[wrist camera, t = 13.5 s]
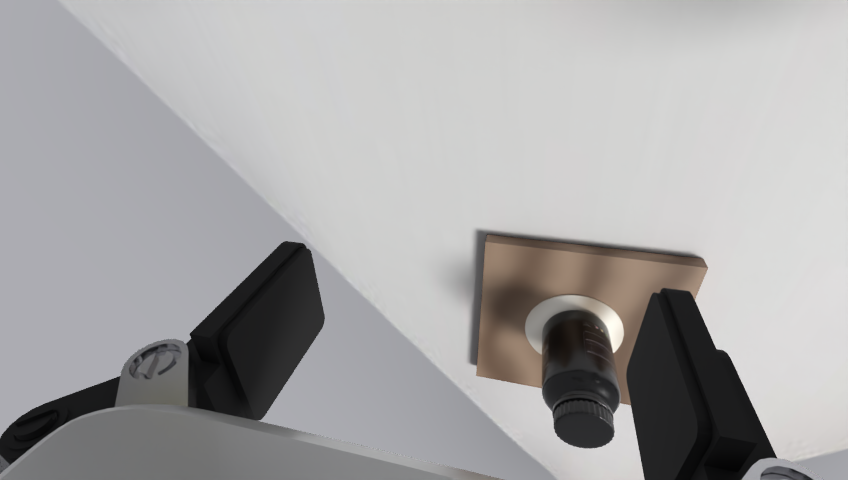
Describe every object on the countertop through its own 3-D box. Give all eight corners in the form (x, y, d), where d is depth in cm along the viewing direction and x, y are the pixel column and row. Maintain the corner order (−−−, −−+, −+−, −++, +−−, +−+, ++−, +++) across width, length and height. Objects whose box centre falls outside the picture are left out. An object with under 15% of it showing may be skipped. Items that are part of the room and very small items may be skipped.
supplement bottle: (575, 363, 47) (582, 466, 37) (528, 330, 46) (522, 425, 36) (625, 333, 43) (646, 438, 33) (575, 296, 42) (582, 392, 32)
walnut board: (703, 258, 38) (708, 269, 37) (646, 397, 49) (649, 410, 48) (487, 234, 43) (485, 243, 42) (478, 366, 54) (476, 377, 52)
